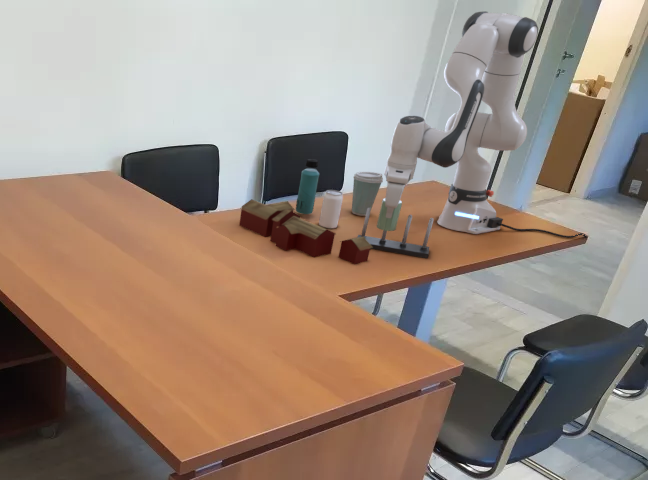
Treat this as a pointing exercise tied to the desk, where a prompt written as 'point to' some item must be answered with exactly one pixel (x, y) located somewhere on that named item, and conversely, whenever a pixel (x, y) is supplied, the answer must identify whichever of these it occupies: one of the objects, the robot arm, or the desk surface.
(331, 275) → the desk surface
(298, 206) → the beverage bottle
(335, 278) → the desk surface
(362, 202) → the disposable coffee cup
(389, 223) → the cup
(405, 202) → the desk surface
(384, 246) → the dish rack
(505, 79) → the robot arm
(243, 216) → the toy houses
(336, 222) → the can
